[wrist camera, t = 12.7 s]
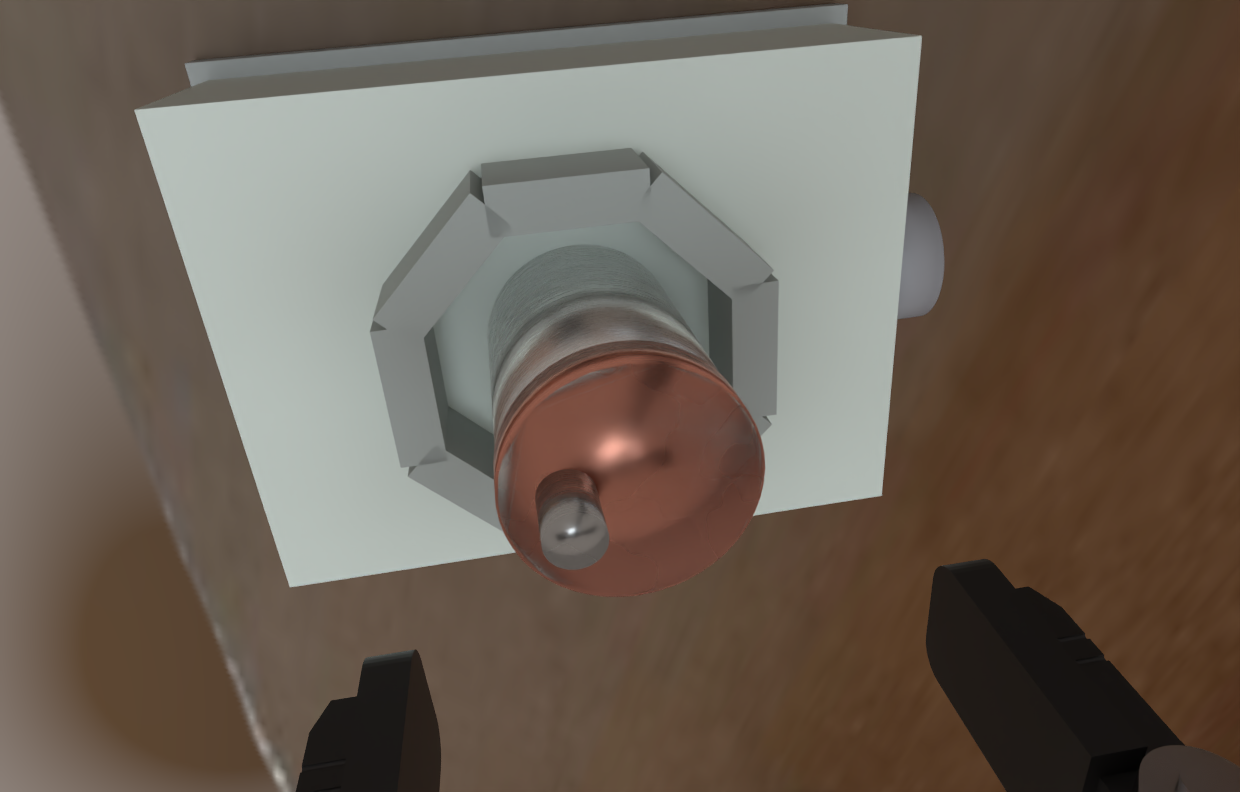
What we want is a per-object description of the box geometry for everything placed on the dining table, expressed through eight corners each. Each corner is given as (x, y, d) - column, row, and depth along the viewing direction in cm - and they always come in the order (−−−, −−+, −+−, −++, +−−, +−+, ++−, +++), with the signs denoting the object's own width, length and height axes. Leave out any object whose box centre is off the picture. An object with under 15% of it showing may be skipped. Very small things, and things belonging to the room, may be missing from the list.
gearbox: (879, -1, 27) (1060, 11, 19) (853, 404, 34) (976, 544, 26) (194, 60, 25) (54, 104, 17) (315, 480, 32) (259, 661, 23)
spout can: (671, 233, 22) (796, 378, 14) (677, 408, 25) (787, 622, 16) (473, 254, 22) (477, 418, 13) (498, 432, 24) (515, 668, 16)
